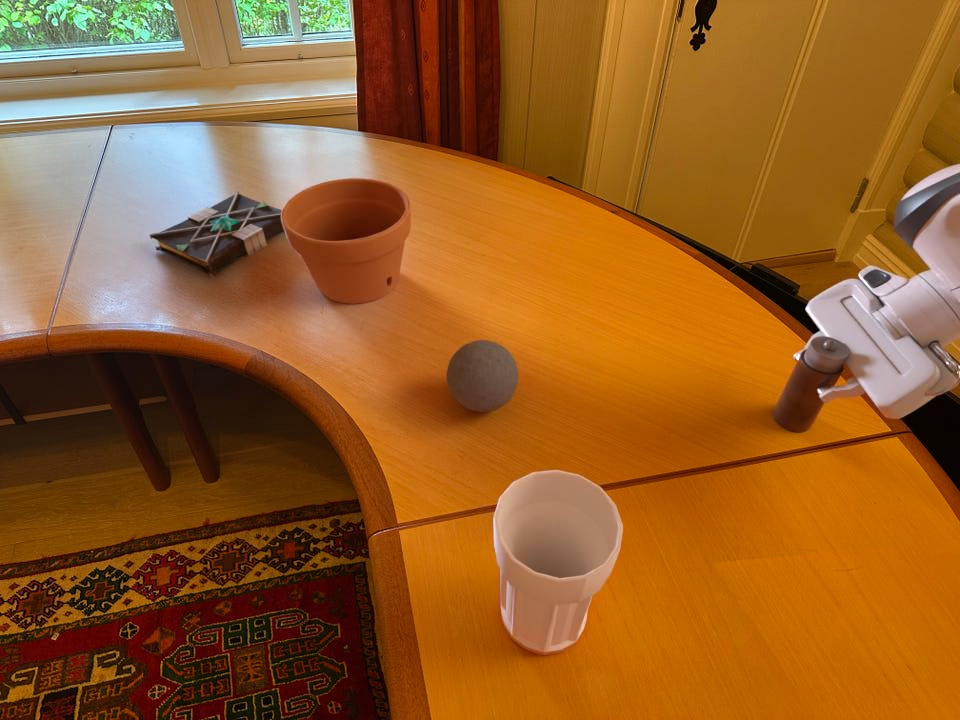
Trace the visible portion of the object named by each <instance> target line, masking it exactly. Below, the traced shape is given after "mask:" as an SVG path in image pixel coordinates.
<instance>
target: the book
mask: <svg viewBox="0 0 960 720" xmlns="http://www.w3.org/2000/svg"><path fill="white" fill-rule="evenodd" d="M281 211H282V209H280V208H277V207H274V206H271V205H269V204H268V203H267V202H266V201H265V200H264V199H263V200H261V202H260V201H258V200H255V199H252V198H250V197H248V196H245V195H243V194H241V193H240V191H238V190H237V191H236V192H235V193H234V194H233V195H231V196H229V197H227V198H225V199H224V200H221V201H220V202H218V203H216V204H214V205H212V206H210V207H209V206H205V207H204V208H202V209H200V210H199V211H196V212H194V213H192V214H189V215H188V216H187V219H185V220H184V221H182V222H179V223H178V224H175V225H173V226H171V227H169V228H166V229H164V230H162V231H160V232H155V233H149V238H150V239H154V240H155V241H157V242H158V245H159V246H158V245H156V246H155V250H156V251H160V252H162V253H165V254H168V255H170V256H172V257H174V258H176V259H178V260H180V261H182V262H184V263H186V264H189V265H191V266H193V267H194V268H196V269H198V270H200V271H202V272H203V273H206V274H207V275H209V277H210V279H213V278H214V276H215V273H216V272H218V271H219V270H221V269H222V268H223V267H225V266H227V265H228V264H230V263H231V262H233V261H234V260H236V259H238V258H239V257H241V256H243V255H244V256H246V257H250V256H252V255H254V253H257V252H258V251H260V250H261V249H264V248H265V247H267V245H268V244H267V241H269V240H271V239H272V238H274V237H276V236H278V235H280V234H281V233H284V232H285V231H284V228H283V225H282V222H281Z"/></svg>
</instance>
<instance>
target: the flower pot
mask: <svg viewBox="0 0 960 720" xmlns="http://www.w3.org/2000/svg"><path fill="white" fill-rule="evenodd" d="M411 209H412V205H411V201H410V198H409V197H408V195H407V194H406V193H405V192H404V190H402V189H401V188H399V187H398V186H396V185H394V184H392V183H390V182H386V181H382V180H378V179H375V178H374V179H373V178H365V177H350V178H339V179H332V180H328V181H324V182H320V183H317V184H314V185H311V186H309V187H306V188H304V189H303V190H301V191H299V192H297V193H296V194H294V195H293V196H292V197H291V198H290V199H288V200H287V201H286V203H285V204H284V205H283V207H282V209H281V210H282V211H281V222H282V225H283V228H284V231H283V232H284V234H285V237H286V239H287V242H288V244H289V246H290V248H291V249H292V250H293V251H294V252H295V253H296V254H298V255H299V256H300V258H301V261H302V262H303V263H304V265H305V267H306V268H307V271H308V272H309V274H310V276H311V279H312V280H313V282H314V283H315V285H316V287H317V288H318V290H319V291H320V292H321V294H322V295H324V296H325V297H326V298H328V299H330V300H332V301H334V302H337V303H342V304H348V305H350V304H353V305H354V304H355V305H357V304H364V303H365V304H366V303H371V302H373V301H376V300H379V299H381V298H382V297H385V296H386V295H388V294H389V293H390V292H391V291H393V290H394V288H395V287H396V285H397V283H398V281H399V277H400V274H401V273H400V272H401V268H402V267H401V266H402V261H403V257H404V250H405V245H406V240H407V238H408V237H409V236H410V232H411V229H412V223H411V222H412V210H411Z"/></svg>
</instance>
